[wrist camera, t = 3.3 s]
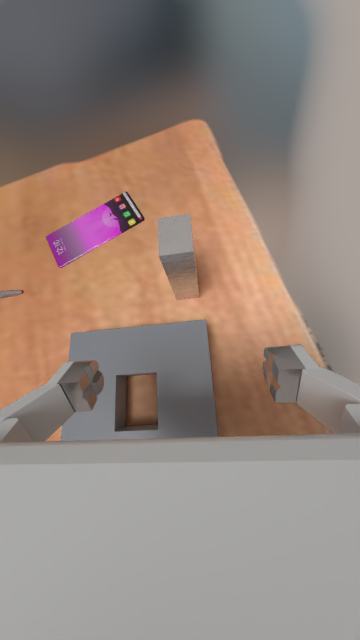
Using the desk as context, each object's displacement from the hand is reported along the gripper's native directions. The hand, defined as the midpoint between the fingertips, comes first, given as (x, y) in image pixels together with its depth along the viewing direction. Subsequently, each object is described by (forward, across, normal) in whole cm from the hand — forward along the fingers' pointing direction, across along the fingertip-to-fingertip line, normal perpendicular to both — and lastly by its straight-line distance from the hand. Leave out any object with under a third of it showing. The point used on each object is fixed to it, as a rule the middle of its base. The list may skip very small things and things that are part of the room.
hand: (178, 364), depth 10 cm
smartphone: (+28, +14, -6) cm, 32 cm away
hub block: (+9, +6, +12) cm, 16 cm away
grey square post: (+19, 0, +2) cm, 19 cm away
